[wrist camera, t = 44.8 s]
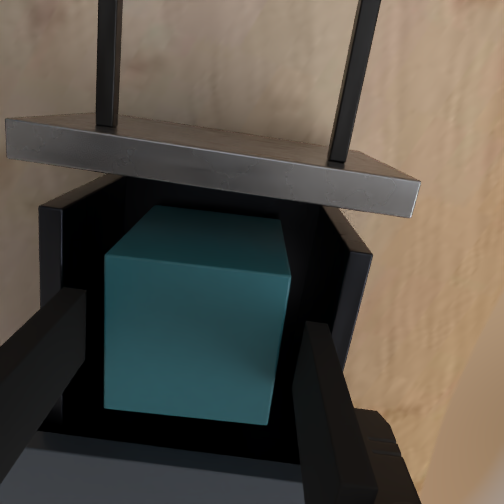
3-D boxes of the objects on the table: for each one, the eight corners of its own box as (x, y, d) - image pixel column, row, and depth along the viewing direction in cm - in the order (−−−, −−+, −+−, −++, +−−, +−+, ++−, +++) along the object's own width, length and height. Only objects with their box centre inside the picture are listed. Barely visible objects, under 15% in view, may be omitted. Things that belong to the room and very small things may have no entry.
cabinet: (92, 311, 25) (-14, 442, 15) (323, 343, 26) (362, 490, 16) (87, 497, 30) (5, 687, 20) (281, 522, 30) (291, 719, 21)
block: (149, 317, 22) (103, 409, 15) (154, 204, 20) (103, 254, 13) (264, 330, 22) (267, 427, 16) (280, 219, 20) (292, 276, 14)
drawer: (107, -46, 18) (-9, -160, 10) (394, 1, 19) (493, -72, 11) (95, 353, 25) (19, 470, 17) (308, 382, 25) (330, 509, 17)
